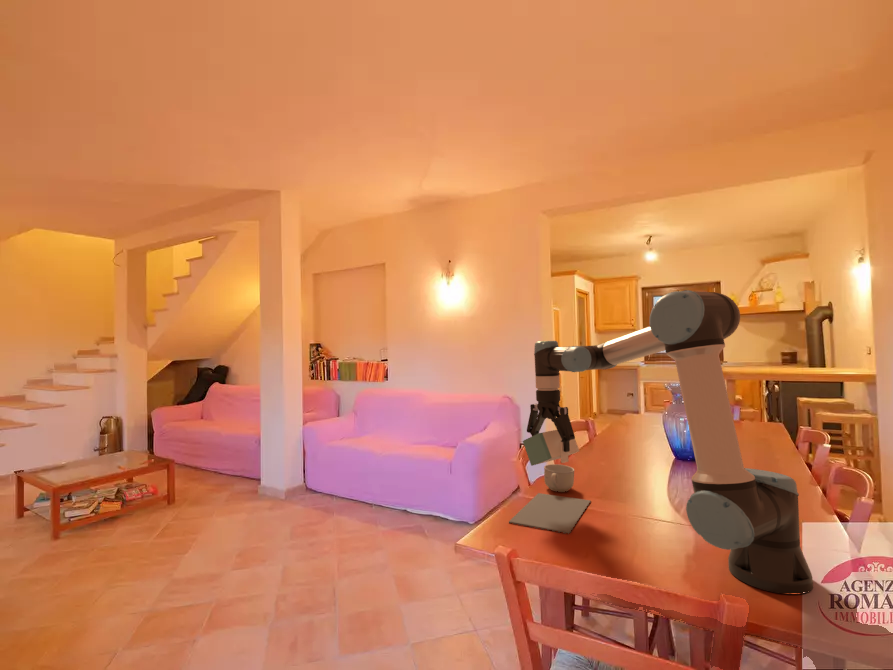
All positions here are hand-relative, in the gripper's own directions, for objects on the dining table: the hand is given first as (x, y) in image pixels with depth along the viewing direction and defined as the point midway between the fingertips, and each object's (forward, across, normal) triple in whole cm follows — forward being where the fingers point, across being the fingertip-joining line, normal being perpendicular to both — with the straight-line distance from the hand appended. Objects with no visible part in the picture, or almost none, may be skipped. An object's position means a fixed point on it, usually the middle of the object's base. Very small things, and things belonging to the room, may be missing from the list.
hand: (550, 458), depth 140 cm
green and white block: (-4, 0, -8) cm, 9 cm away
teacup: (+17, +13, -17) cm, 27 cm away
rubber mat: (+17, 0, 0) cm, 17 cm away
